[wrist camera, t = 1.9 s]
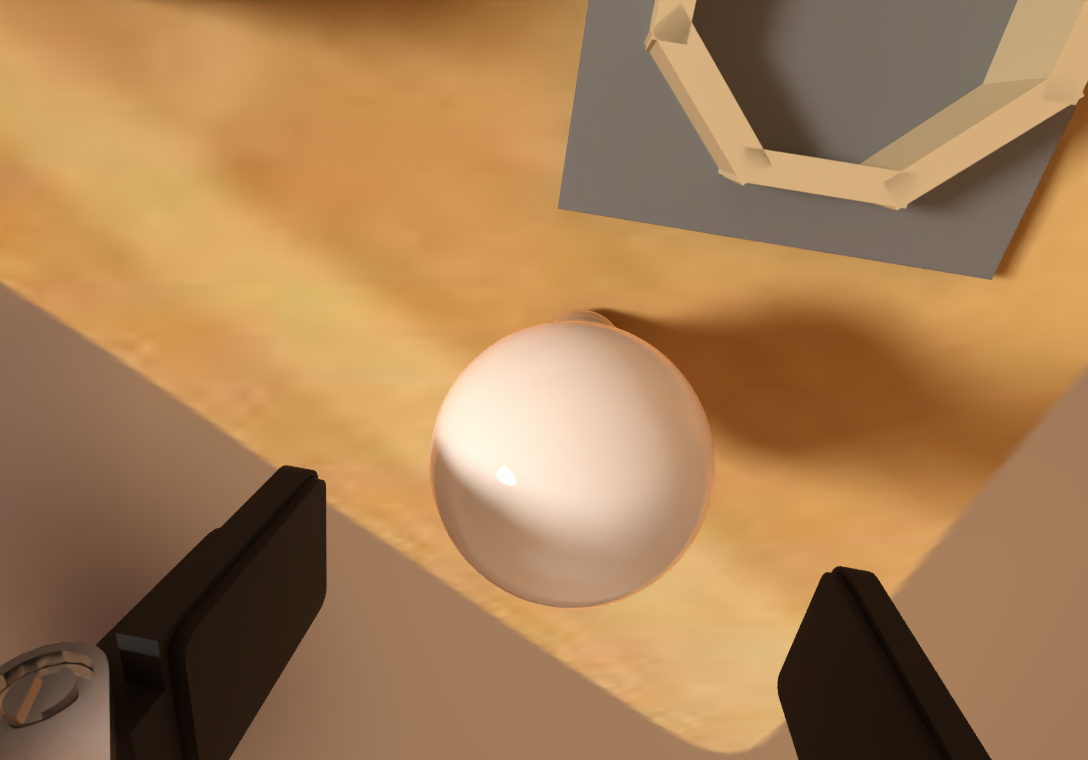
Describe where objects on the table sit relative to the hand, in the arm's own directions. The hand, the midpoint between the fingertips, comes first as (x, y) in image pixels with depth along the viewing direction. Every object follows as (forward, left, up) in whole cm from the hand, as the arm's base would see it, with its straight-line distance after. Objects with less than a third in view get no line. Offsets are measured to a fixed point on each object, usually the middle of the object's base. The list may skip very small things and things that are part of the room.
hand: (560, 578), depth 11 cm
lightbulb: (-1, 0, -11) cm, 11 cm away
